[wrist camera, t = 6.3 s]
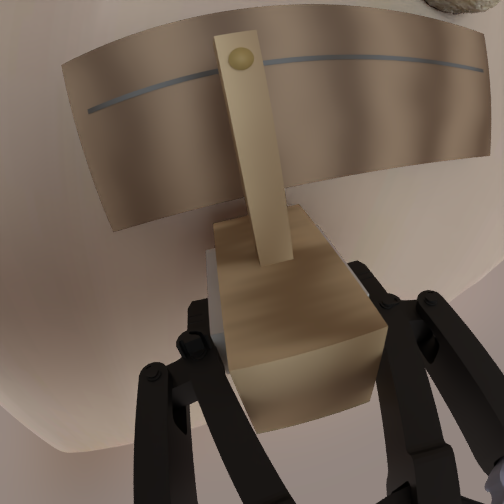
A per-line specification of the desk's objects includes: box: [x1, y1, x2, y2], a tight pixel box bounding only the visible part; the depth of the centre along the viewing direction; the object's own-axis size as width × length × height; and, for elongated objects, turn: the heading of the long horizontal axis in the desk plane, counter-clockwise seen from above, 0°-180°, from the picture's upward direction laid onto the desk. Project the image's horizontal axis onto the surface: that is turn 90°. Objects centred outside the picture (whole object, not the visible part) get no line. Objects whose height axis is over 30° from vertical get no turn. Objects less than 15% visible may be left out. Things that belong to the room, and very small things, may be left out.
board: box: [61, 4, 491, 232], centre depth 16 cm, size 30×11×3 cm, turn 101°
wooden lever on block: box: [213, 30, 388, 434], centre depth 11 cm, size 5×14×10 cm, turn 10°
